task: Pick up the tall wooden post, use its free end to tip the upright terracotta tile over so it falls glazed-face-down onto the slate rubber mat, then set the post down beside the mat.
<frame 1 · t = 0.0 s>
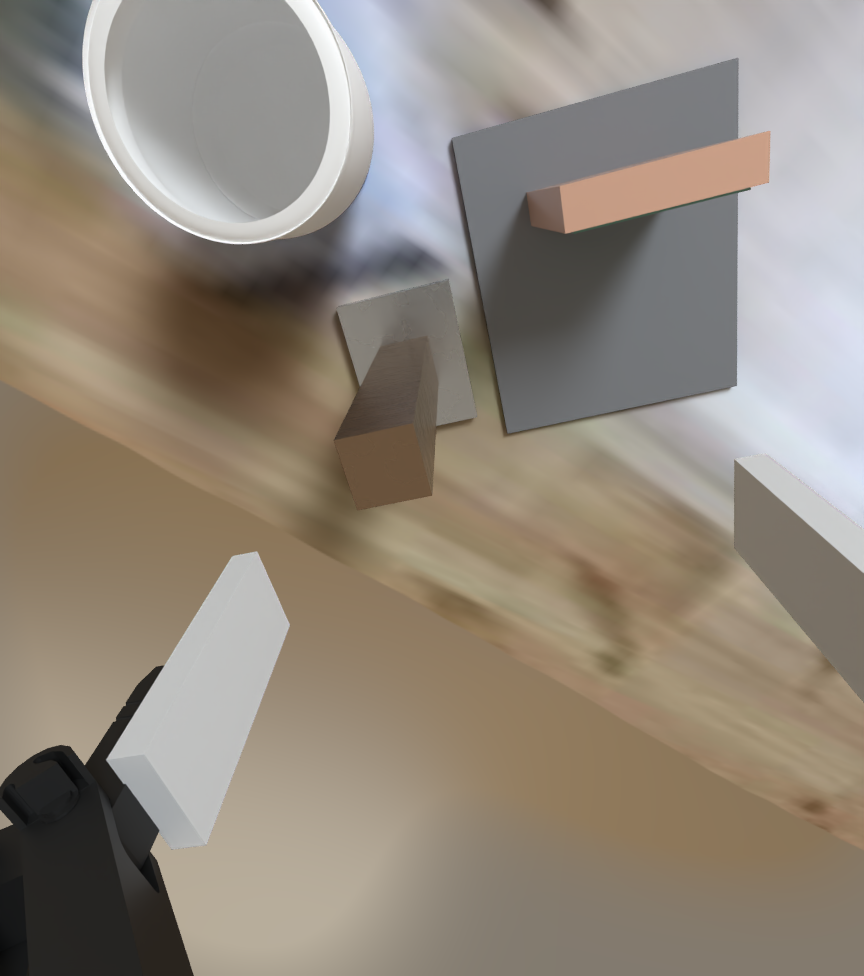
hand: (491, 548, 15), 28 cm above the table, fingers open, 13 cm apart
tall wooden post: (410, 361, 41), on the table
jar: (306, 142, 35), on the table
terracotta tile: (599, 191, 36), resting on slate rubber mat
slate rubber mat: (604, 271, 38), on the table
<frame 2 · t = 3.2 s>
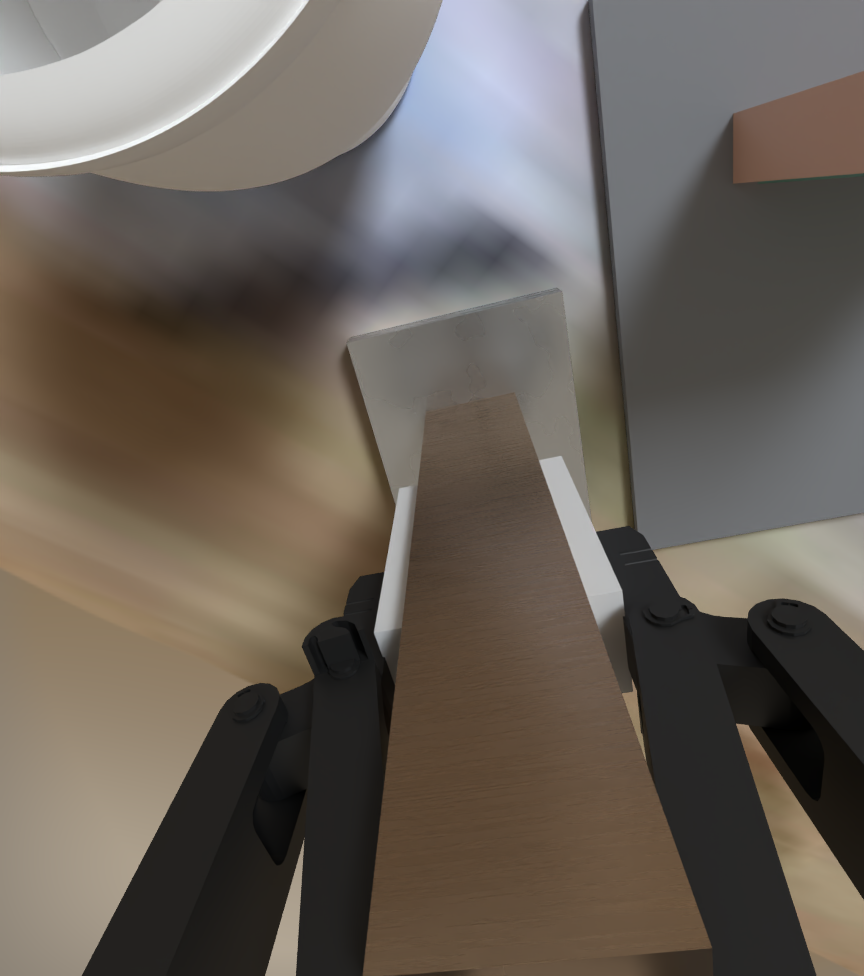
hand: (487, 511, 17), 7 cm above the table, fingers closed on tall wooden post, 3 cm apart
tall wooden post: (477, 433, 23), on the table, touching gripper
jar: (287, 9, 17), on the table
slate rubber mat: (856, 274, 20), on the table
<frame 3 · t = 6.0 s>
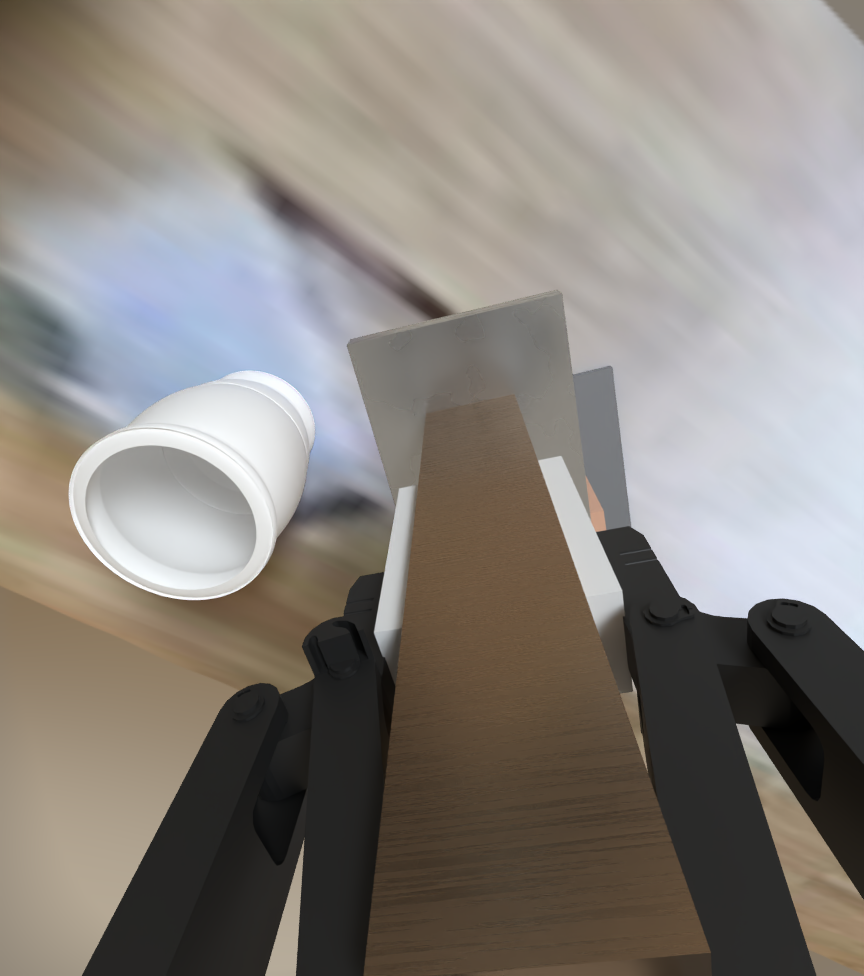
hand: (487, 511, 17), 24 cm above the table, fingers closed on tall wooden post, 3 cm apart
tall wooden post: (477, 435, 23), point 18 cm above the table, touching gripper
jar: (261, 422, 42), on the table
terracotta tile: (506, 458, 42), resting on slate rubber mat
slate rubber mat: (518, 511, 45), on the table
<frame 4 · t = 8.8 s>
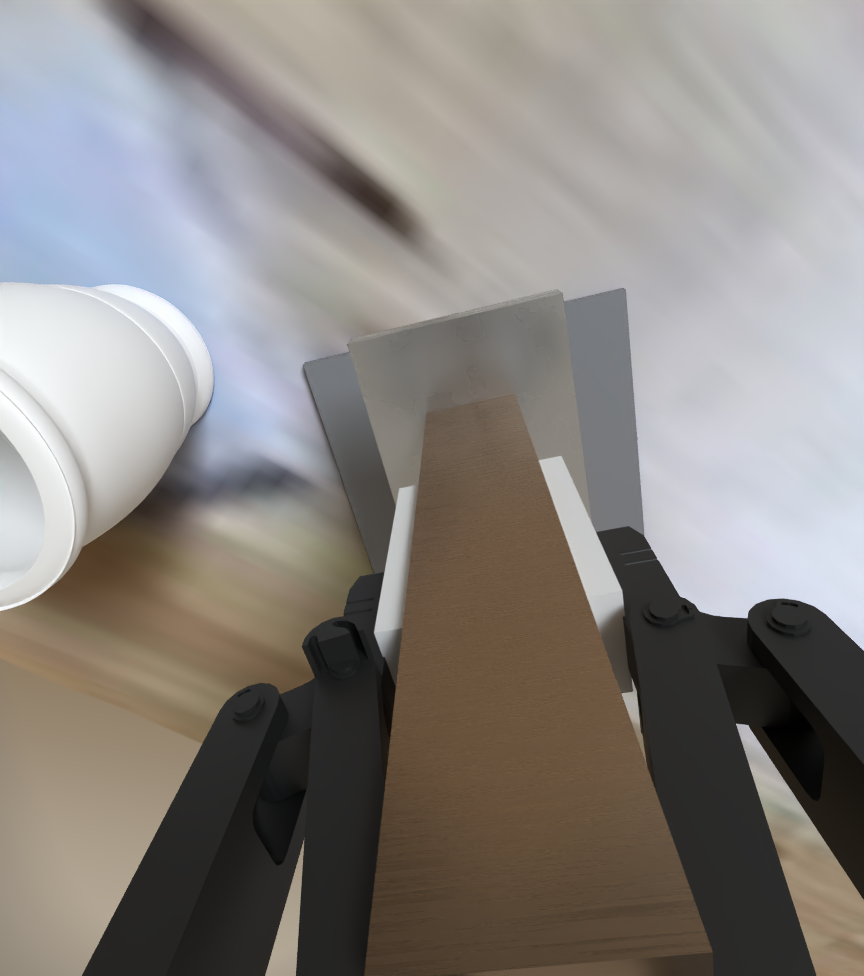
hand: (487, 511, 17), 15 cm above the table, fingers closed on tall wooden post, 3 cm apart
tall wooden post: (477, 435, 23), point 8 cm above the table, touching gripper
jar: (140, 362, 31), on the table
slate rubber mat: (492, 492, 34), on the table
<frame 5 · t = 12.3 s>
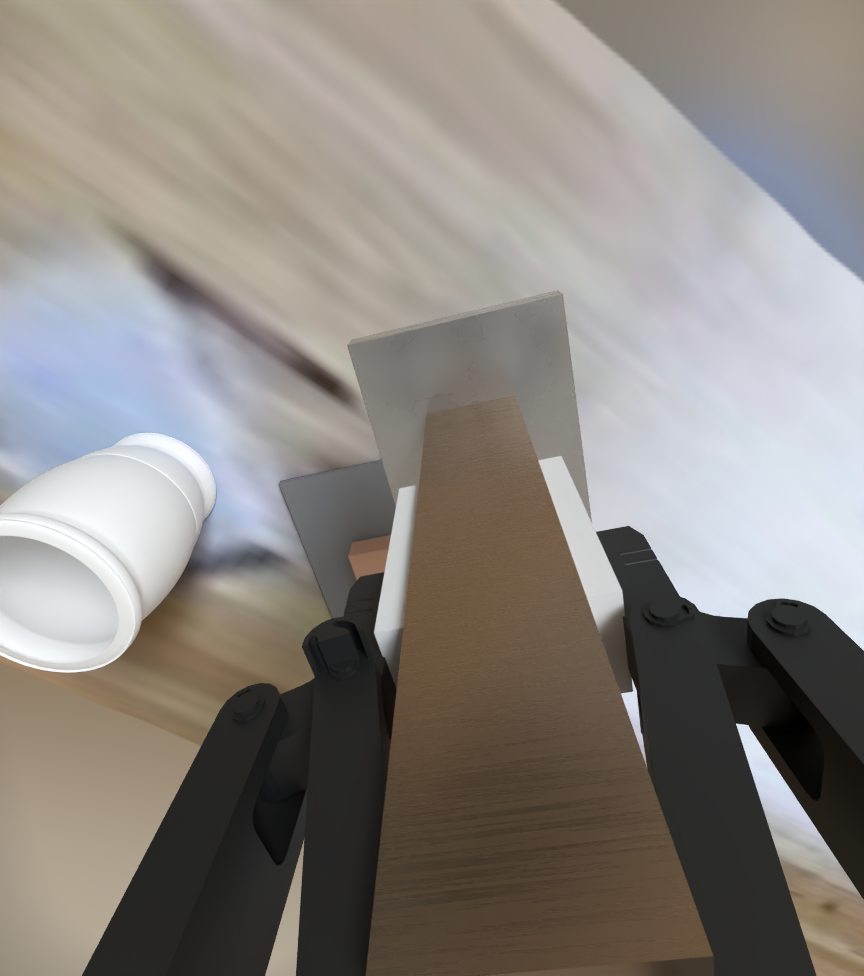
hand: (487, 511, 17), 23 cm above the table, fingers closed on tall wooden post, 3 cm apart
tall wooden post: (477, 436, 23), point 17 cm above the table, touching gripper
jar: (164, 479, 44), on the table
terracotta tile: (405, 538, 43), point 2 cm above the table, tilted 90°, touching slate rubber mat
slate rubber mat: (418, 566, 46), on the table
when the fingers open (8 cm above the table, at t = 15.1 s): tall wooden post drops 1 cm, on the table.
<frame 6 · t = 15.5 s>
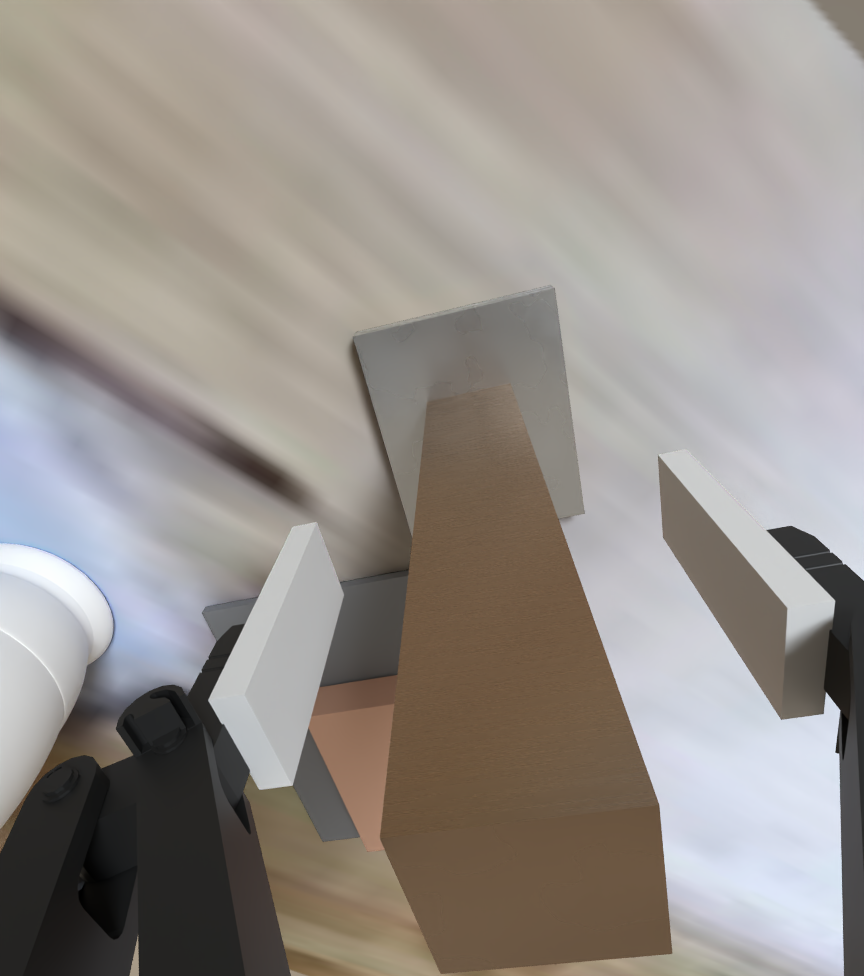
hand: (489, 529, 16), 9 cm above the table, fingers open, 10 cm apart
tall wooden post: (475, 423, 25), on the table
jar: (38, 603, 30), on the table
terracotta tile: (387, 690, 30), point 2 cm above the table, tilted 90°, touching slate rubber mat
slate rubber mat: (407, 715, 33), on the table
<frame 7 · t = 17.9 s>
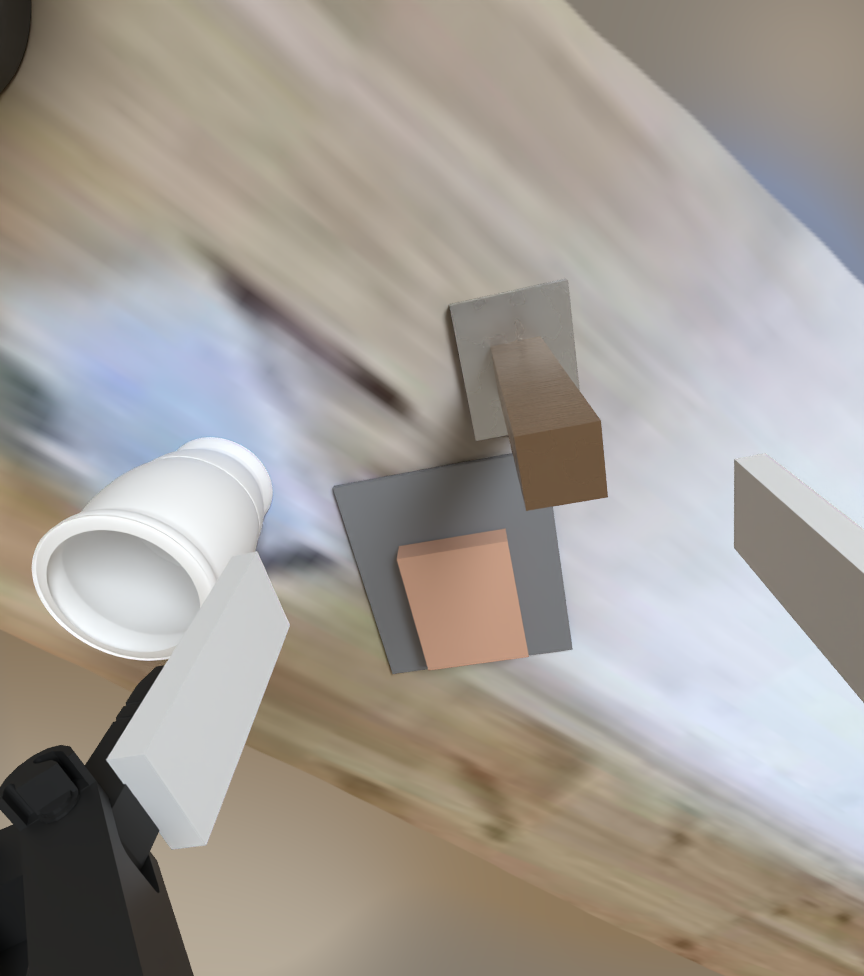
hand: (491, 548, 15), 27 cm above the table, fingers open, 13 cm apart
tall wooden post: (517, 362, 40), on the table
jar: (223, 482, 46), on the table
terracotta tile: (451, 543, 45), point 2 cm above the table, tilted 90°, touching slate rubber mat
slate rubber mat: (460, 570, 48), on the table
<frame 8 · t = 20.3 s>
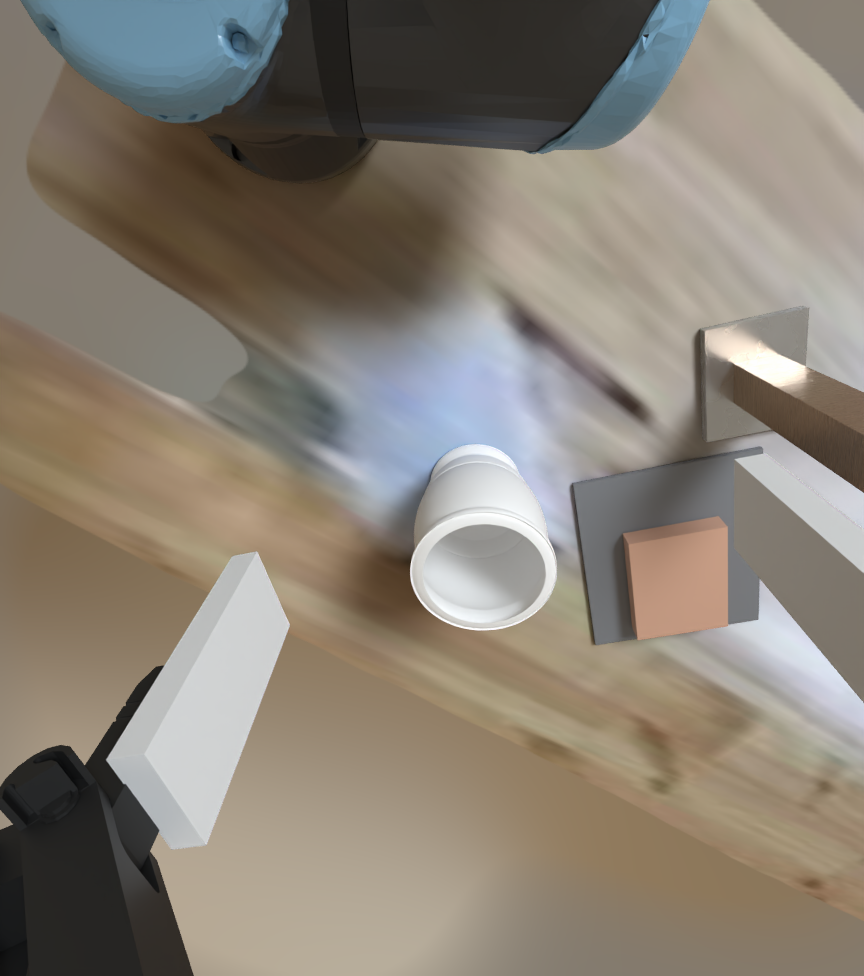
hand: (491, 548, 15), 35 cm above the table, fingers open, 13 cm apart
tall wooden post: (749, 375, 48), on the table
jar: (474, 482, 53), on the table
terracotta tile: (673, 530, 53), point 2 cm above the table, tilted 90°, touching slate rubber mat
slate rubber mat: (669, 553, 56), on the table
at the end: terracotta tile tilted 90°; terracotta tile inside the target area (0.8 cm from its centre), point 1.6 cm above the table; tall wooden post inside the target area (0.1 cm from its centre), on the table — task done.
